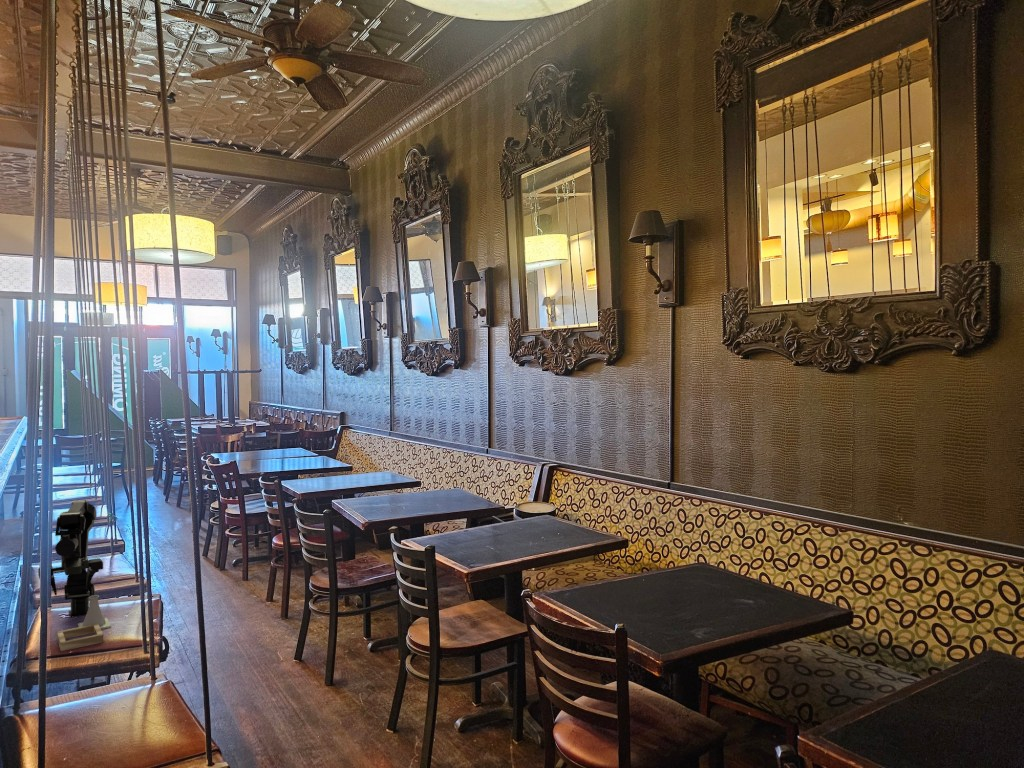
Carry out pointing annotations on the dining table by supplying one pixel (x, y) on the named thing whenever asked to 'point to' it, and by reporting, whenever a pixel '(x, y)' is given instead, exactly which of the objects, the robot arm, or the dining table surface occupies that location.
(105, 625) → the sage pad
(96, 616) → the flask
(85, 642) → the oak cradle
